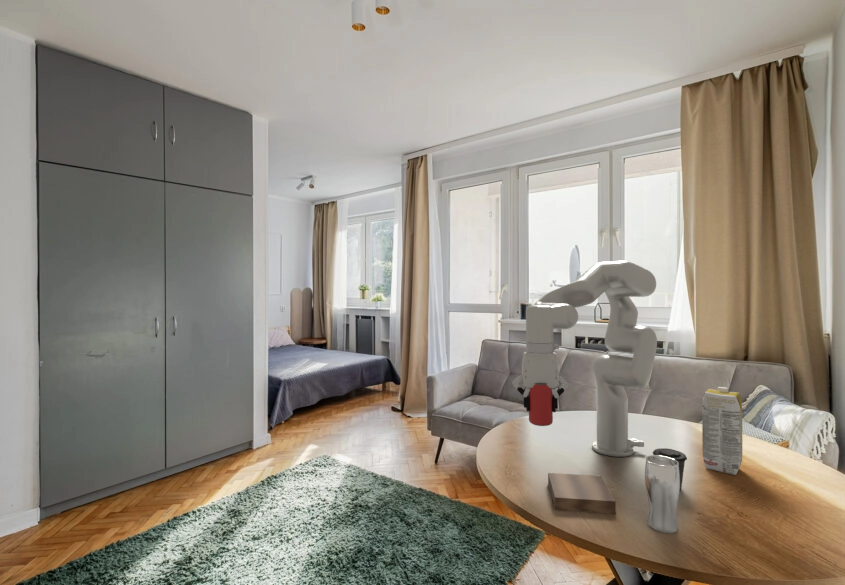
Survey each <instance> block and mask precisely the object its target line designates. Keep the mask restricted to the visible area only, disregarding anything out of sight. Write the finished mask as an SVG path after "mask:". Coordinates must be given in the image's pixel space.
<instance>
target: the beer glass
mask: <svg viewBox="0 0 845 585" xmlns="http://www.w3.org/2000/svg"><path fill="white" fill-rule="evenodd" d="M644 466H645V467H644V482H645V491H646V495H647V499H648V508H649V509H648V516H647V526H649V527H650V528H651V529H652V530H655V531H657V532H659V533H663V534H674V533H677V532H678V531H679V530H678V528H679V526H678V522H677V514H676V513H677V512H676V511H677V506H678V501H679V496H680V492H679V490H680V474H679V463H678V461H676V460H675V459H673V458H670V457H666V456H661V455H653V454H651V455H647V456H646V457H645V465H644Z"/></svg>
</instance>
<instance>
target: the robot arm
mask: <svg viewBox="0 0 845 585" xmlns="http://www.w3.org/2000/svg"><path fill="white" fill-rule="evenodd" d="M656 288H657V279H656V277H655V275H654V274H653V273H652V272H651V271H650V270H649V269H646V268H644V267H642V266H640V265H639V264H636V263H633V262H630V261H628V260H614V261H601V262H600V261H599V262H597V263H595V264H593V265H592V266H591V267H590V268H588V270H586V271H585V272H583V274H581V276H579V277H578V278H577V279H575V280H574V281H573V282H570V283H568V284H565V285H562V286H561V287H558V288H556V289H553V290H551V291H550V292H547V293H546V294H544V295H543V296H541V298H539V299H538V300H537V301H536V302H534V304H531V305H528V306H527V307H526V309H525V335H526V336H525V340H526V342H525V345H526V346H525V349H526V351H523V354H522V361H521V374H520V375H518V376H517V377H516V378H515V379H514V380H513V381H512V382H511V385H512V386H513V387H514V388H515V389H516V391H517V392H519V393H520V395H522V397H523V408H525V410H526V412H529V391H530V388H533V386H534V385H535V383H547V386H548V387H549V388H550V389H551V390H552V410H553V413H556V410H557V409H559V408H558V406H559V402H558V401H559V400H558V399H559V397H560V396H561V395H562V394H564V392H565V391H566V390H567V389H568V388H569V387H570V383H569V382H568V381H567V380H566V379H565V378H564V377H562V376H561V375H560V374H559V363H558V358H557V352H554V351H555V350H559V349H560V344H559V343H557V344H556V343H554V330H557V329H558V330H569V329H572V328H574V327H575V325H576V324H577V323H578V321H579V312H578V310H577V309H576V308H580V307H585V306H588V305H590V304H593V303H594V302H595V301H596V300H597V299H598V298H600V297H601V295H603V294H604V293H605V295H606V298H607V300H608V302H609V306H610V314H609V319H608V321H607V322H608V323H607V328H606V332H605V337H604V345H605V347H606V349H608V350H609V351H612V352H615V353H622V354H629V355H632V357H629V356H623V355H617V354H602V355H598V356H597V357H596V358H595V359H594V361H593V364H592V371H593V377H594V382H595V390H596V440H594V441H593V442H592V444H591V448H592V449H593V450H594V452H596V453H599V454H601V455H603V456H604V455H605V456H609V457H616V458H617V457H618V458H621V457H629V456H631V455H633V454H634V448H635V447H638V448H644V447H645V443H644V440H638V439H637V438H630V437H629V409H628V408H629V406H628V405H629V400H628V395H627V393H626V390H625V388H629V389H630V388H631V389H637V390H642V389H644V388H646V387H647V386H648V385H649V383H650V380H651V378H652V372H653V367H654V363H655V357H656V354H657V348H658V339H657V338H658V337H657V334H656V332H655V330H653V328H651V327H649V326H645V325H638V324H637V323H638V316H639V312H638V311H639V310H638V308H637V306H636V305H635V303H634V302H633V300H632V299H631V297H632V298H634V297H635V298H637V297H638V298H639V297H641V298H643V297H644V298H645V297H649V296H651V295H652V294H653V293H654V292H655V291H656ZM520 382H521V383H522V386H523V387H524V388H522V387H521V386H520V384H519V383H520ZM560 383H561V384H562V385H561V386H560ZM557 388H558V389H557Z"/></svg>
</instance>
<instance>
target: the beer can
mask: <svg viewBox="0 0 845 585" xmlns="http://www.w3.org/2000/svg"><path fill="white" fill-rule="evenodd" d="M528 396H529V411H528V421H529V423H530V424H531V425H534V426H539V427H547V426H551V425H552V424H553V419H554V415H553V413H554V412H553V410H552V396H553V393H552V390H551V389H550V388H549V387H548V386H547V383H535V385H534V386H533V388H530V391H529V393H528Z"/></svg>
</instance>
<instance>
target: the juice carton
mask: <svg viewBox="0 0 845 585" xmlns="http://www.w3.org/2000/svg"><path fill="white" fill-rule="evenodd" d="M728 390H729V388H728V387H725V386H723V387H722V386H717V389H712V388H708V389H707V390H705V392H704V394H703V399H702V402H701V403H702V412H701V413H702V414H701V415H702V419H701V420H702V423H701V426H702V427H701V429H702V431H701V432H702V434H701V435H702V436H701V438H702V440H701V442H702V444H701V445H702V446H701V447H702V459H703V464H704V466H705V468H706V469H708V470H712V471H717V472H720V473H725V474H729V475H733V476H736V475H737V473H738V472H739V469H740V467H741V465H742V462H743V403H742V397H741V394H740V392H735V391H728Z"/></svg>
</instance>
